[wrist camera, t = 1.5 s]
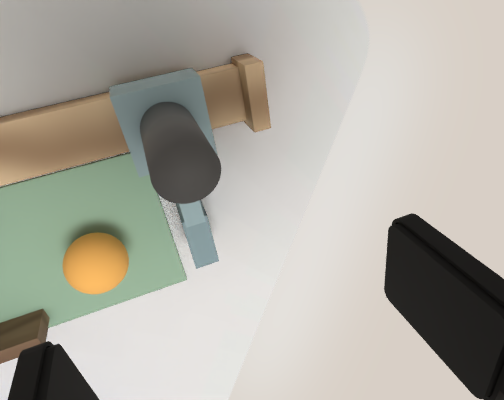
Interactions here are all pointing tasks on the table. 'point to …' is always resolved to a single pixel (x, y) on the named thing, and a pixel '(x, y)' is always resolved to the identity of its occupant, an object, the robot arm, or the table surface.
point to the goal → (22, 334)
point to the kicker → (173, 147)
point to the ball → (95, 263)
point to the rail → (107, 125)
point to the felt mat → (73, 227)
